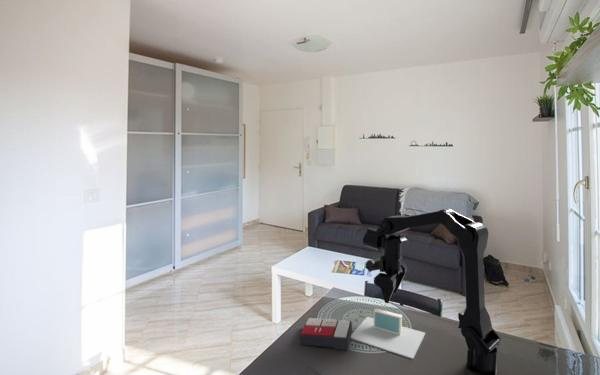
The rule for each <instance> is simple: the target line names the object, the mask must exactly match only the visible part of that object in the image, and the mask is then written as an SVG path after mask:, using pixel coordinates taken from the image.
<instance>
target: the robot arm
mask: <svg viewBox="0 0 600 375" xmlns="http://www.w3.org/2000/svg"><path fill="white" fill-rule="evenodd" d="M438 224H441V225H442V226H444V227H445V229H446V230H447V231H448V232H449V233H450V234H451V235H453V236H454V237H456V238H457V239H456V240H457V244H458V248H459V250H460V251H461V254H462V256H463V262H464V264H463V266H464V284H465V286H464V287H465V289H464V290H465V308H464V309H463V310H461V311H460V312H458V314H457V318H458V322H459V323H458V327H457V328H458V329H460V333H461V336H462V337H463V338H464V340H465V343H466V346H467V353H466V354H467V355H466V357H467V358H466V365H468V368H467V370H468V371H469V372H471V373H475V374H477V375H497V369H498V365H497V362H498V361H497V358H498V346H499V345H500V343H501V341H502V338H501V337H500V335H499V334H498V333H497V332H496V331H495V329H494V328H493V326H492V320H491V316H490V314H489V312H488V311H487V308H486V302H485V276H484V275H485V274H484V254H485V252H486V248H487V245H488V240H489V229H488V228H487V227H486V226H485V225H484V224H483V223H481V222H478V221H476V222H475V221H474V220H473V219H471V218H468V217H466V216H465V215H462V214H461V213H458V212H457V211H454V210H453V209H451V208H444V209H443V208H442V209H440V210H438V211H437V210H436V211H430V212H426V213H420V214H415V215H405V214H403V215H402V214H401V215H398V214H397V215H391V216H388V217H384V218H382V219H381V223H380V225H379V227H378V228H377V229H376V228H375V229H374V228H372V227H368V228H367V229H366V233H364V236H363V238H362V243H363V245H364V247H367V248H371V249H374V250H378V251H381V250H382V252H383V253H382V255H381V256H380V257H377V258H372V259H368V260H366V262H365V267H364V268H365V269H366V270H368V272H369V273H370V272H373V271H378V270H379V273H378V274H376V276H374V278H373V284H374V285H376V287H378V288H380V290H381V293H382V297H383V301H384V303H385V304H389V302H390V300H391V298H392V295H393V294H397V292H398V289H399V287H400V286H401V283H402V281H403V279H404V278H405V277H406V276H405V275H406V273H407V272H408V265H407V264H406V262H403V261H402V259H403V255H402V244H403V243H406V242H408V239H407V238H406V236H404V234H402V232H404V231H408V230H410V229H411V228H412V229H413V228H418V227H419V228H420V227H425V226H432V225H438ZM398 233H401V234H398ZM395 234H396V235H395ZM397 234H398V235H397ZM401 261H402V262H401Z"/></svg>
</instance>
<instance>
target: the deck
mask: <svg viewBox="0 0 600 375" xmlns="http://www.w3.org/2000/svg"><path fill="white" fill-rule="evenodd" d="M373 318H374V328H378V329H381V330H384V331H388V332H391V333H395V334H398V335H401V333H402V326H403V315H402V314H400V313H395V312H391V311H388V310H384V309H381V308H380V309H379V308H374V309H373Z"/></svg>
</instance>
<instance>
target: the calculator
mask: <svg viewBox="0 0 600 375" xmlns="http://www.w3.org/2000/svg"><path fill="white" fill-rule="evenodd" d="M352 324H353V323H352V321H351V320H344V319H342V320H341V319H339V320H338V319H335V318H334V319H333V318H317V317H315V318H313V317H308V319H307V320H306V322H305V324H304V326H303V328H302V330H301V332H300V334H299V344H300V345H303V346H316V347H330V348H331V347H332V348H334V349H336V350H344V351H347V350H349V348H350V344H351V343H350V342H351V340H352V339H351V335H352V333H353V328H352V327H353V326H352Z"/></svg>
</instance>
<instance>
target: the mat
mask: <svg viewBox="0 0 600 375" xmlns="http://www.w3.org/2000/svg"><path fill="white" fill-rule="evenodd" d="M425 335H426V332H424V331H421V330H416V329H413V328H410V327H406V326H403V325H402V333H401V335H398V334H395V333H391V332H388V331H384V330H381V329H378V328H374V317H370V316H367V317H366V318H364V320H363V321H362V322H361V323H360V324H359V325H358V327H357V328H356V329H355V330H354V331H352V335H351V339H350V340H353V341H356V342H358V343H362V344H365V345H369V346H371V347H373V348H377V349H380V350H384V351H386V352H390V353H392V354H396V355H399V356H402V357H405V358H407V359H411V360H414V359H415V356H416V354H417V352H418V350H419V348H420V346H421V344H422V343H423V340H424V337H425Z"/></svg>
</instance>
